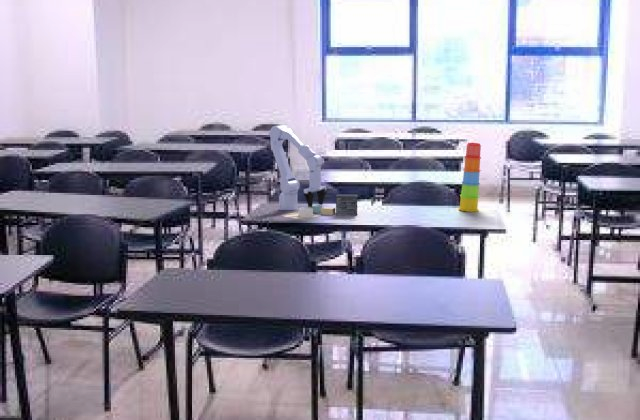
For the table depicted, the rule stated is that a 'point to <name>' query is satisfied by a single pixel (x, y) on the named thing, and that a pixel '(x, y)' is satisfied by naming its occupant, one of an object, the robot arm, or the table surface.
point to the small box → (346, 204)
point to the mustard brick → (328, 211)
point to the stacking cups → (471, 179)
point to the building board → (296, 216)
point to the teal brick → (316, 208)
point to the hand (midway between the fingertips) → (315, 205)
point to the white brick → (305, 212)
